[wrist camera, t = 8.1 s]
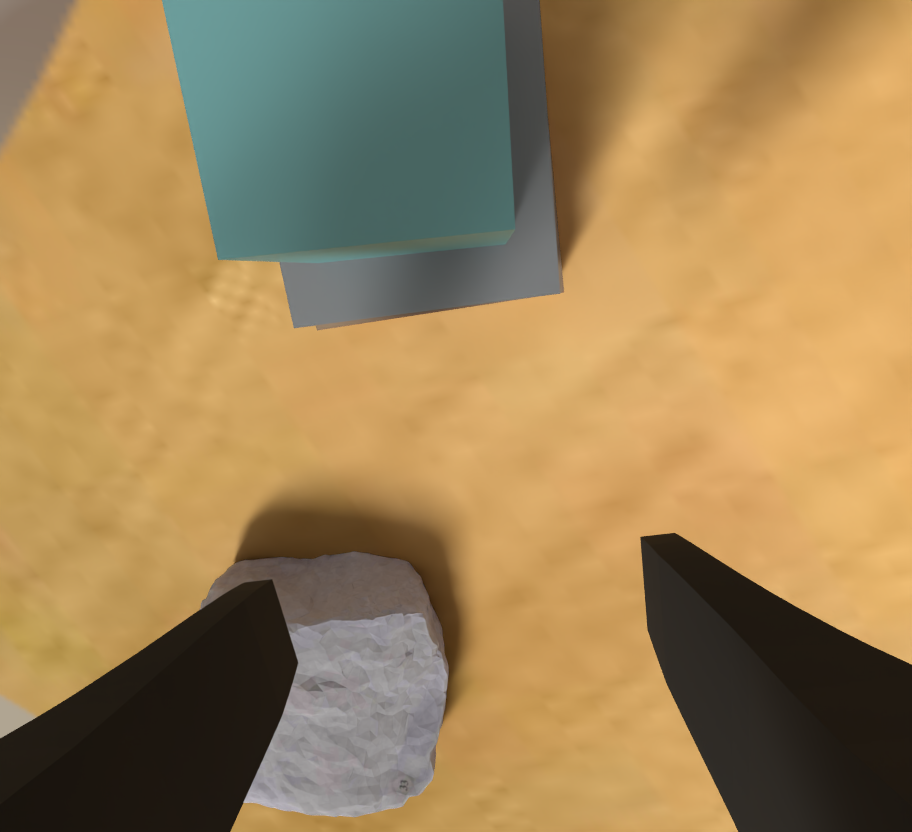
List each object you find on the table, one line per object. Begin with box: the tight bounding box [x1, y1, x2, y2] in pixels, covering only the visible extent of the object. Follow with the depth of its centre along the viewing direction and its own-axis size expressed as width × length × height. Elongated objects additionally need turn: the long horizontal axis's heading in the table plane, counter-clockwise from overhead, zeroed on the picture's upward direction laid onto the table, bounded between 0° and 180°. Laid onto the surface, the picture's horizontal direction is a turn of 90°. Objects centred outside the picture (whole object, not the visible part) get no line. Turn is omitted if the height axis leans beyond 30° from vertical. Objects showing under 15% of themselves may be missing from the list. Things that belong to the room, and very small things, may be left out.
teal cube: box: [162, 0, 515, 263], centre depth 9 cm, size 5×5×5 cm
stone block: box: [200, 551, 449, 817], centre depth 22 cm, size 12×5×10 cm
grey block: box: [280, 0, 560, 328], centre depth 13 cm, size 7×7×3 cm
